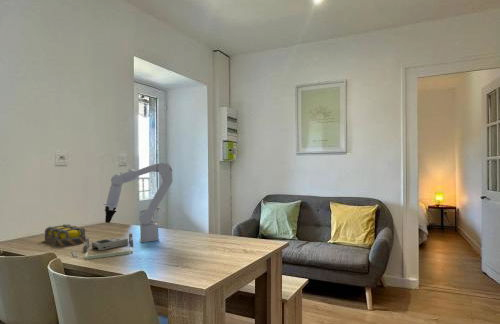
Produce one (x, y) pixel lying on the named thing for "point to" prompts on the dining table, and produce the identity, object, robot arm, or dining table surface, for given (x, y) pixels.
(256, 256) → the dining table surface
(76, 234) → the cage light
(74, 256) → the stay bar
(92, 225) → the dining table surface
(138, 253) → the dining table surface
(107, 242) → the handheld gaming device
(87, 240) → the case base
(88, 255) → the bay
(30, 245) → the dining table surface
